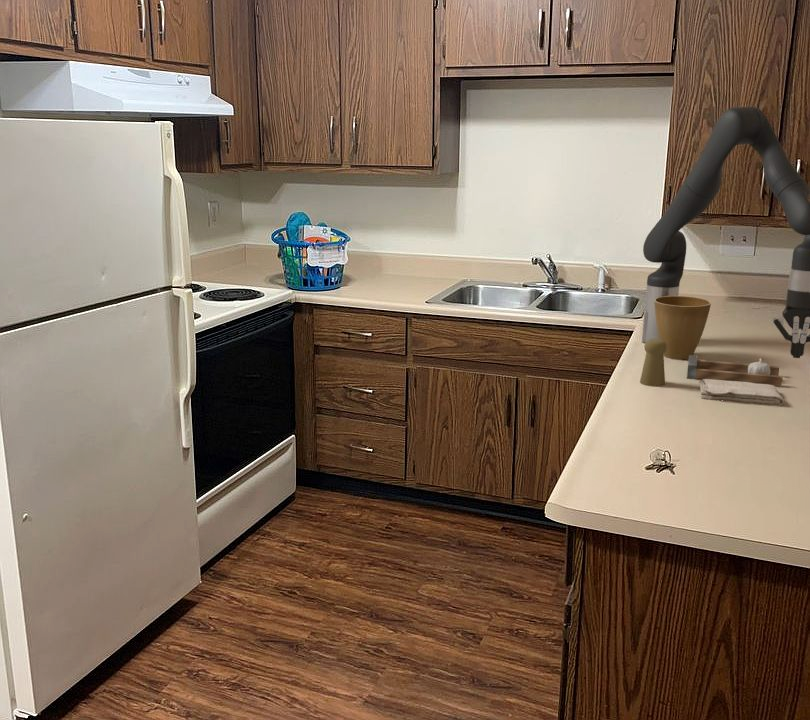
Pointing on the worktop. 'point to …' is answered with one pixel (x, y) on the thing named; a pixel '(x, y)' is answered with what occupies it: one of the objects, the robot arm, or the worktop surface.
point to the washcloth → (740, 392)
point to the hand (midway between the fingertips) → (796, 357)
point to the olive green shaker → (654, 363)
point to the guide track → (730, 372)
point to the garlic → (759, 368)
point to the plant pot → (681, 323)
